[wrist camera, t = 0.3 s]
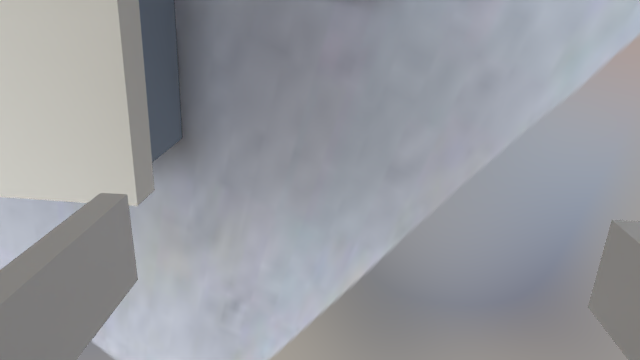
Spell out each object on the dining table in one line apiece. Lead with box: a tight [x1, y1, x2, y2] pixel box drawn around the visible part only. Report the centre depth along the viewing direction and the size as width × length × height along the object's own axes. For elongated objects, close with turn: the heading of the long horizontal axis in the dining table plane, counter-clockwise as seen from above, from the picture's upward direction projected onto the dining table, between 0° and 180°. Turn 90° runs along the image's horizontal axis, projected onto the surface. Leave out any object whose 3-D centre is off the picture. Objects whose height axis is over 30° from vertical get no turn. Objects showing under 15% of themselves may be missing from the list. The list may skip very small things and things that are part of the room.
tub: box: [139, 0, 182, 162], centre depth 34 cm, size 15×15×11 cm
